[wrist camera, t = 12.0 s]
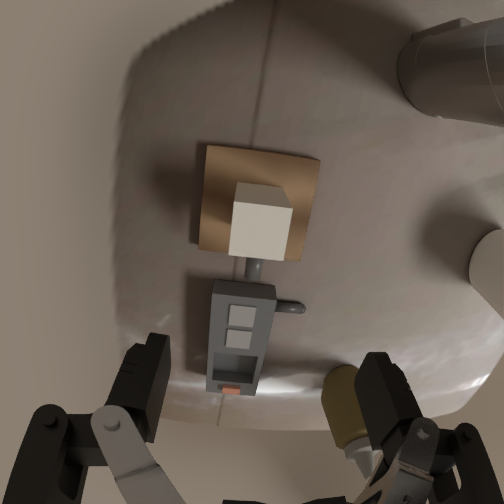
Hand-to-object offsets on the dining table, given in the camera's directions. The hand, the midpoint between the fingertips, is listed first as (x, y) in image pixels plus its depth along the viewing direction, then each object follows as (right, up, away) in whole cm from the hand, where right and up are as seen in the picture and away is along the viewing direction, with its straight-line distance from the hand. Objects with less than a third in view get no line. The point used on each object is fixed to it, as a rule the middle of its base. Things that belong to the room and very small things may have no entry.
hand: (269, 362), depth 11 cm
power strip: (-1, -7, +27) cm, 28 cm away
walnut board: (0, +9, +20) cm, 22 cm away
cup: (+34, +4, +23) cm, 41 cm away
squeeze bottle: (+13, -15, +32) cm, 37 cm away
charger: (0, +8, +19) cm, 21 cm away
